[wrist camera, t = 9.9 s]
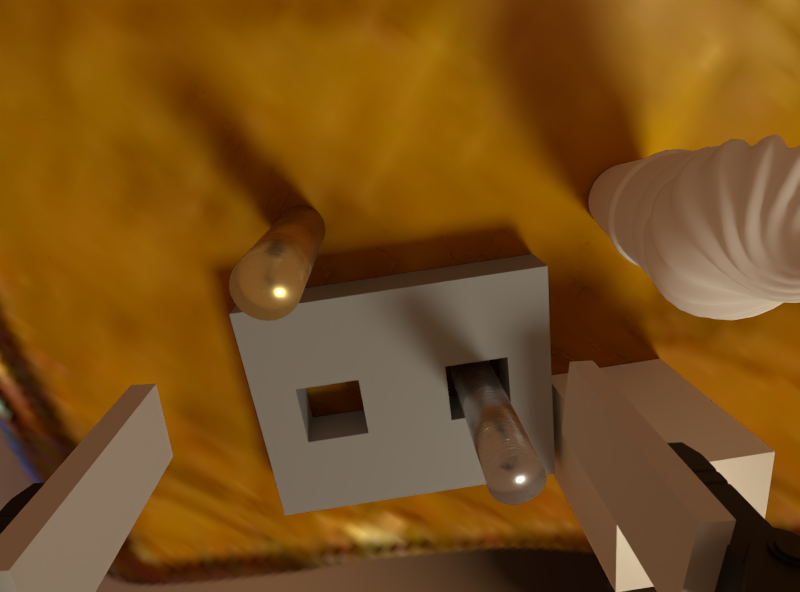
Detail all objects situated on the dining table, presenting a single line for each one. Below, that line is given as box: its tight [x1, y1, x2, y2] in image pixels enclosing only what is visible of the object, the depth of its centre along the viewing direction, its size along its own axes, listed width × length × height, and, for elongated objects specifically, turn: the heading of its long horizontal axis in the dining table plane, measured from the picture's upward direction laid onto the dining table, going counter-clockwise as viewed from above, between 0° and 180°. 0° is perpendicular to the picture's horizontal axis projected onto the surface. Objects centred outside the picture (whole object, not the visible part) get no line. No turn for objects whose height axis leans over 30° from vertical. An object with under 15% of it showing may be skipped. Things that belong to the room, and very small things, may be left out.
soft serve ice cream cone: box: [588, 134, 800, 320], centre depth 25 cm, size 8×8×16 cm
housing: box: [552, 359, 775, 592], centre depth 33 cm, size 9×9×11 cm
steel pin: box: [450, 360, 546, 505], centre depth 30 cm, size 3×3×12 cm
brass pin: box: [229, 206, 325, 321], centre depth 26 cm, size 3×3×12 cm
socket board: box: [229, 254, 555, 515], centre depth 34 cm, size 16×20×3 cm
